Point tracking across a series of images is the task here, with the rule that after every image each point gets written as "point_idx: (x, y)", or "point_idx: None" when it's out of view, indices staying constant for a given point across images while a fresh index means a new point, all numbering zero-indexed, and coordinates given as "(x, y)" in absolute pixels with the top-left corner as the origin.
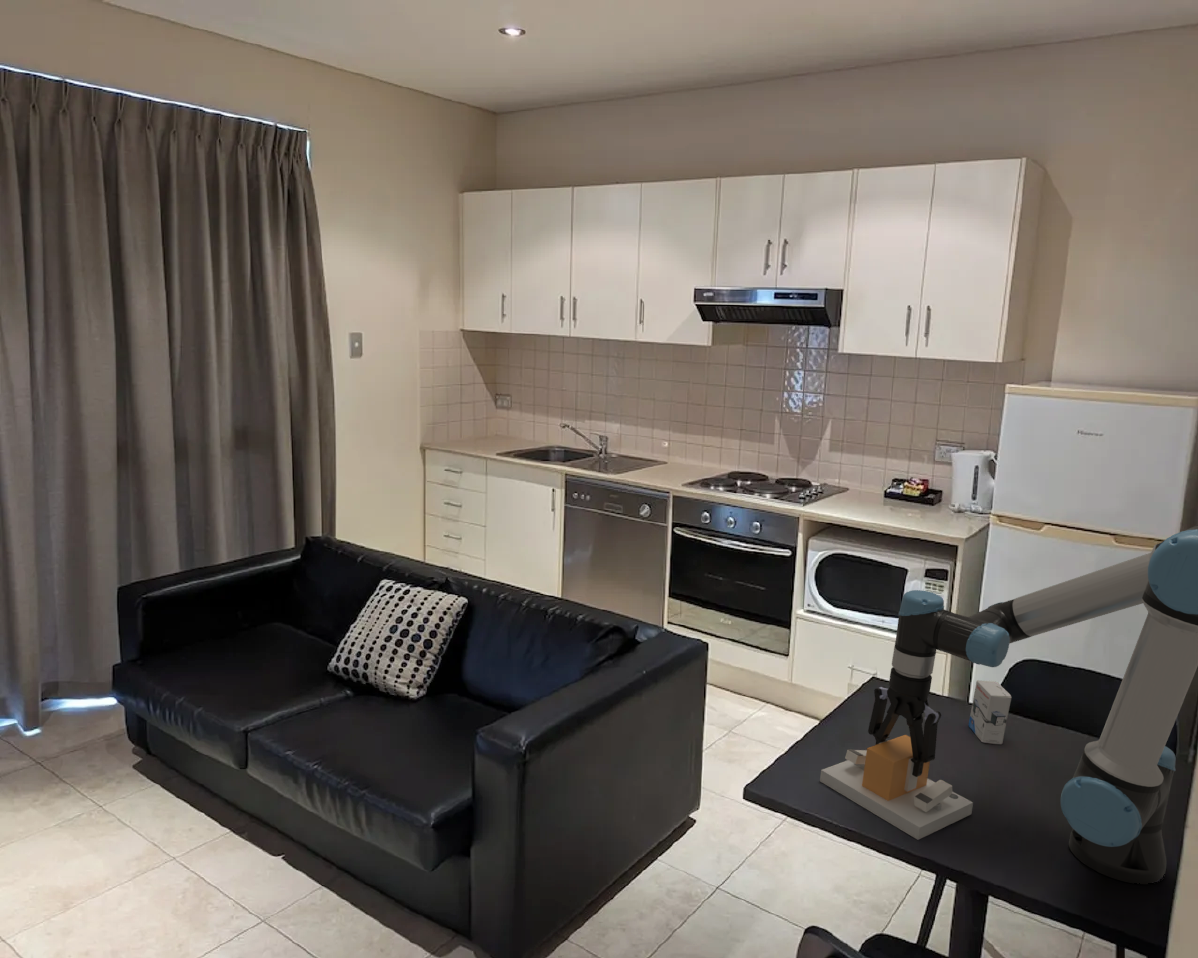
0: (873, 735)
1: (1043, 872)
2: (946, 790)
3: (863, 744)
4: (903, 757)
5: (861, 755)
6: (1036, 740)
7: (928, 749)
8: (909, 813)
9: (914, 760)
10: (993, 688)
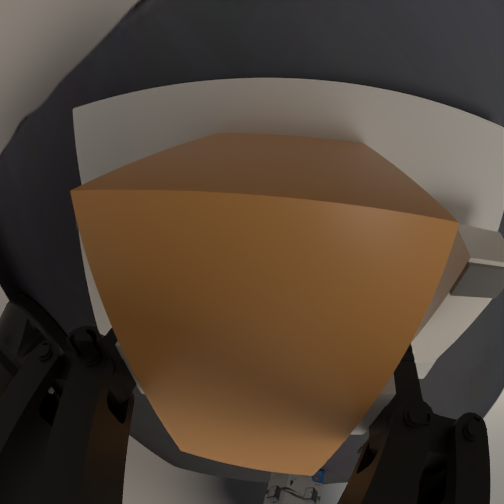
0: (446, 418)
1: (17, 241)
2: (93, 304)
3: (449, 381)
4: (123, 333)
5: (456, 281)
6: (256, 472)
7: (3, 396)
8: (125, 139)
9: (79, 336)
10: None
